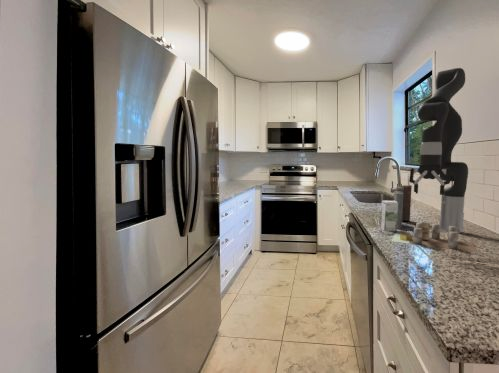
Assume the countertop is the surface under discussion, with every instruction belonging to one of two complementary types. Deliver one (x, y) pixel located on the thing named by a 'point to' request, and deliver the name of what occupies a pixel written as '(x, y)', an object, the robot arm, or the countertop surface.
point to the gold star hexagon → (405, 236)
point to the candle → (406, 202)
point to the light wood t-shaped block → (425, 230)
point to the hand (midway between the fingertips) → (428, 193)
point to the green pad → (397, 239)
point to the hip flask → (399, 205)
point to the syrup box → (389, 215)
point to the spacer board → (441, 243)
